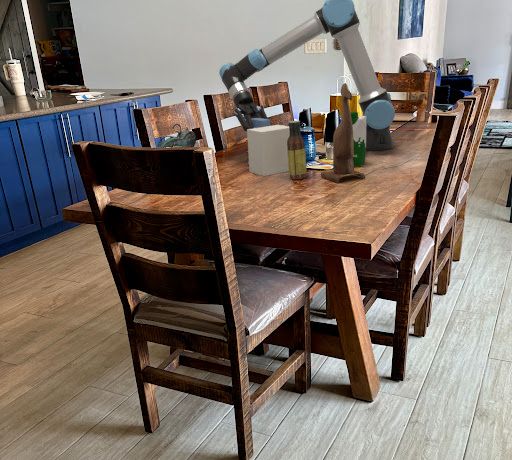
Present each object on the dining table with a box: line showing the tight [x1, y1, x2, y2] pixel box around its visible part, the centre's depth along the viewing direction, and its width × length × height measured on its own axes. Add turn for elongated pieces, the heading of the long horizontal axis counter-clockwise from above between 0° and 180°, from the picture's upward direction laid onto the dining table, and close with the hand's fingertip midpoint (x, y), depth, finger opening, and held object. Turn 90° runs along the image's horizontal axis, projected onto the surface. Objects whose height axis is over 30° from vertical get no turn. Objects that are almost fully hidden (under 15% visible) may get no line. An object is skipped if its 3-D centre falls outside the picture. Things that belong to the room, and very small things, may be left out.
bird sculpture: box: [320, 82, 366, 184], centre depth 171 cm, size 11×12×32 cm
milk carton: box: [350, 111, 367, 168], centre depth 191 cm, size 9×9×20 cm
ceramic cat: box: [157, 123, 197, 148], centre depth 186 cm, size 20×6×20 cm, turn 145°
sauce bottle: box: [287, 120, 308, 180], centre depth 177 cm, size 7×6×20 cm
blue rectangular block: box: [251, 117, 271, 128], centre depth 201 cm, size 9×4×13 cm, turn 33°
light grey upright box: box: [246, 124, 290, 177], centre depth 196 cm, size 22×16×16 cm
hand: (265, 142), depth 199 cm, fingers closed on blue rectangular block, 4 cm apart
